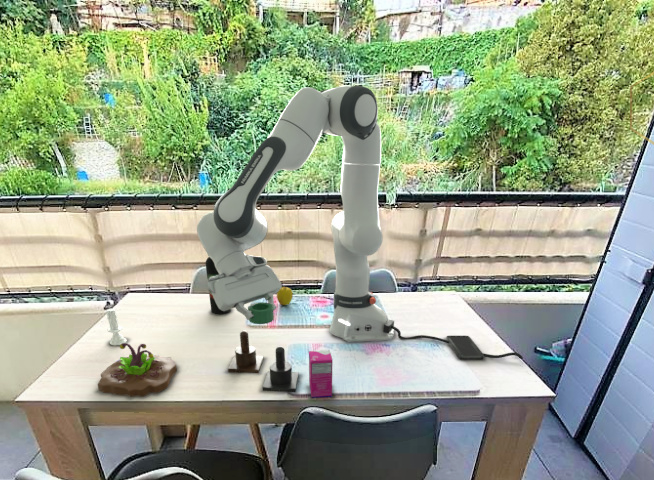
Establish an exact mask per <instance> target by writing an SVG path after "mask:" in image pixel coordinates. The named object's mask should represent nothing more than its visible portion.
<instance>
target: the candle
mask: <svg viewBox="0 0 654 480" xmlns="http://www.w3.org/2000/svg"><path fill="white" fill-rule="evenodd" d="M105 312H106V316H107V317H106V318H107V321H108V325H109V327H108V328H107V332H109V333H112V337H111V338H110V341H109V345H111V346H120V344H122V343H127V342H128V340H127V338H125V337H124V336H123V335H122V334H121V333H120V331H122V330H123V328H124V327H123V326H121V325H119V322H118V318H117V317H118V316H117V314H116V310H115V309H114V308H107V309H106V310H105Z"/></svg>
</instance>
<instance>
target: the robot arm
mask: <svg viewBox="0 0 654 480" xmlns="http://www.w3.org/2000/svg"><path fill="white" fill-rule="evenodd" d="M378 115H379V107H378V101H377V98H376V95H375V93H374V92H373V90H371V89H370V88H368V87H366V86H363V85H360V84H359V85H340V86H336V87H332V88H328V89H326V88H325V89H323V90H320V91H319V90H318V89H316V88H314V87H309V86H306V87H301V88H300V89H299V90H298V91H297V92H296V93H295V94H294V96H293V97H292V98H291V99H290V101H289V102H288V104H287V105H286V106H285V108H284V109H283V111H282V113H281V114H280V116H279V118H278V120H277V122H276V124H275V125H274V127H273V129H272V131H271V132H270V134H269V135H268V137H267V138H266V139H264V140H263V141H262V142H261V143H260V145H259V146H258V147H257V149H256V150H255V152H254V153H253V155H252V156H251V158H250V159H249V161H248V162H247V163H246V165H245V167H244V168H243V170H242V171H241V173H240V175H239V176H238V177H237V179H236V180H235V182H234V184H233V185H232V186H231V187H230V188H229V189H228V190H227V191H226V192H224V193H223V194H222V195H221V196H220V197H219V199H218V200H217V201H216V203H215V204H214V207H213V211H211V212H207V213H206V214H204V215H203V216H202V217H201V218H200V220H199V221H198V223H197V226H196V234H197V237H198V239H199V241H200V243H201V246H202V248H203V249H204V251H205V253H206V255H207V257H210V258H211V259H212V260H213V262H214V264H215V267H216V269H217V271H218V273H219V274H220V275H217V276H215V277H210V278H209V280H207V281H206V286H207V289H208V291H209V290H210V291H211V292H212V295H213V297H214V300H215V302H216V304H217V306H218V308H219V309H220V310H222V311H226V310H229V309H231V310H232V309H235V310H236V311H237V312H238V313H240V314H242V315H243V316H244V318H245V319H246V320H247V321H249V319H252V318H253V317H254V314H253V312H252V311H251V310H250V311H248V308H246V307H245V305H247V304H250V303H252V302H256V301H258V300H262V299H264V300H265V301H267V303H269V304H272V306H273V312H274V311H275V310H276V309H277V306H276V304H275V302H274V300H275V298H274V295H277V292H278V291H279V290H280V289H281V287H282V282H281V280H280V278H279V276H278V275H277V274H276V271H274V269H273V268H272V267H270V266H269V265H267V264H268V261H267V259H266V258H265V257H264V256H255V255H250V254H246V253H245V251H248V250H250V249H252V248H254V247H257V246H258V245H260V244H261V243H262V242H264V240H265V239H266V238H267V234H268V231H269V227H268V226H269V225H268V222H267V219H266V218H265V217H264V215H263V214H262V213H261V212H260V211H259V210H258V209H257V208H256V207H257V201H258V199H259V198H260V196H261V194H262V193H263V191H264V190H265V188H266V187H267V186H268V184H269V182H270V180H271V179H272V177H273V176H274V175H275V174H276V173H278V172H279V171H287V172H292V171H296V170H299V169H301V168H302V167H303V166H304V165H305V163H306V162H307V161H308V160H309V158H310V157H311V155H312V153H313V152H314V149H315V148H316V146H317V144H318V142H319V140H320V138H321V136H322V135H327V136H328V135H330V136H335V137H341V140H342V143H343V152H342V161H341V162H342V164H341V175H340V189H339V190H340V191H339V192H340V195H341V201H342V210H343V211H340V212H339V213H337V214H336V215H335V216H334V217H333V219H332V221H331V226H330V230H331V235H332V240H333V243H332V244H333V253H334V261H335V290H334V291H333V300H332V301H333V303H332V305H333V313H332V314H333V315H332V319H331V323H330V326H329V328H328V330H329V333H331V334H332V335H333V336H334V337H338V338H340V339H342V340H344V342H345V341H346V342H348V343H356V342H357V343H359V342H374V341H375V342H377V341H378V342H379V341H390V340H392V339H393V338H394V335H395V332H397V337H398V338H399V339H400V340H415V339H427V340H428V339H429V340H434V341H439V342H443V343H446V344H448V345H449V341H448V340H446V338H441V337H437V336H432V335H427V334H426V335H424V334H419V335H413V336H407V337H404V336H402V334H401V331H400V329H399V328H398V327H396V326H395V320H393V319H388V315H387V313H386V312H385V311H384V310H383V309H382V308H381V307H380V306H378V305H377V299H376V297H375V294H373V292H372V291H369V290H370V289H369V288H370V275H371V268H370V265H369V261H368V257H370V256H372V255H374V254H376V253H377V251H379V249H380V248H381V246H382V243H383V232H382V229H381V225H380V215H379V214H380V213H379V199H378V197H379V195H378V193H379V181H380V171H381V161H382V132H381V126H380V125H379V124H378ZM209 281H210V282H209ZM450 342H451V341H450ZM455 344H456V343H455ZM457 345H458V344H457ZM459 346H460V345H459ZM462 347H463V346H462ZM464 348H465V347H464ZM467 349H468V348H467ZM470 350H471V349H470ZM473 351H474V350H473ZM476 352H477V351H476ZM482 353H483V354H484V357H483V358H490V359H501V358H506V357H510V356H511V357H512V356H515V357H517V358H518V359H520V360H523V359H524V357H523V356H522V355H521V353H518V352H516V351H515V352H513V351H512V352H506V353H502V354H489V353H484V352H482Z"/></svg>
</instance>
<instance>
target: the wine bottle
mask: <svg viewBox="0 0 654 480" xmlns="http://www.w3.org/2000/svg"><path fill="white" fill-rule="evenodd" d="M205 271H206V272H205V273H206V280H207V281H208V280H209V278H210V277H215V276H217V275H220V274H219V273H218V271H217V269H216V267H215V264H214V262H213V260H212V259H211V258H210V257H209V256H207V258H206V260H205ZM209 282H210V281H209ZM208 295H209V304H210V312H211V314H213V315H217V316H224V315H227V314H230V313H232V312H231V311H232V309H229V310H226V311H222V310H220V309H219V308H218V306H217V304H216V302H215V300H214V297H213V295H212V292H211V291H210V290H209V289H208Z"/></svg>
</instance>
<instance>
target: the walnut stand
mask: <svg viewBox="0 0 654 480" xmlns="http://www.w3.org/2000/svg"><path fill="white" fill-rule="evenodd" d="M239 339H240V340H239V342H240V345H239V346H236V348H235V349H234V356H233V358H232V360H231V362H230V364H229V365H228V368H227V372H228V373H237V374H238V373H239V374H259V373H260V371H261V368H262V365H263V363H264V360H265V356H264V355H259V354H258V355H257V351H256V347H255V346H253V345H250V339H249V332H248V331H247V330H241V331H240V332H239Z"/></svg>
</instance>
